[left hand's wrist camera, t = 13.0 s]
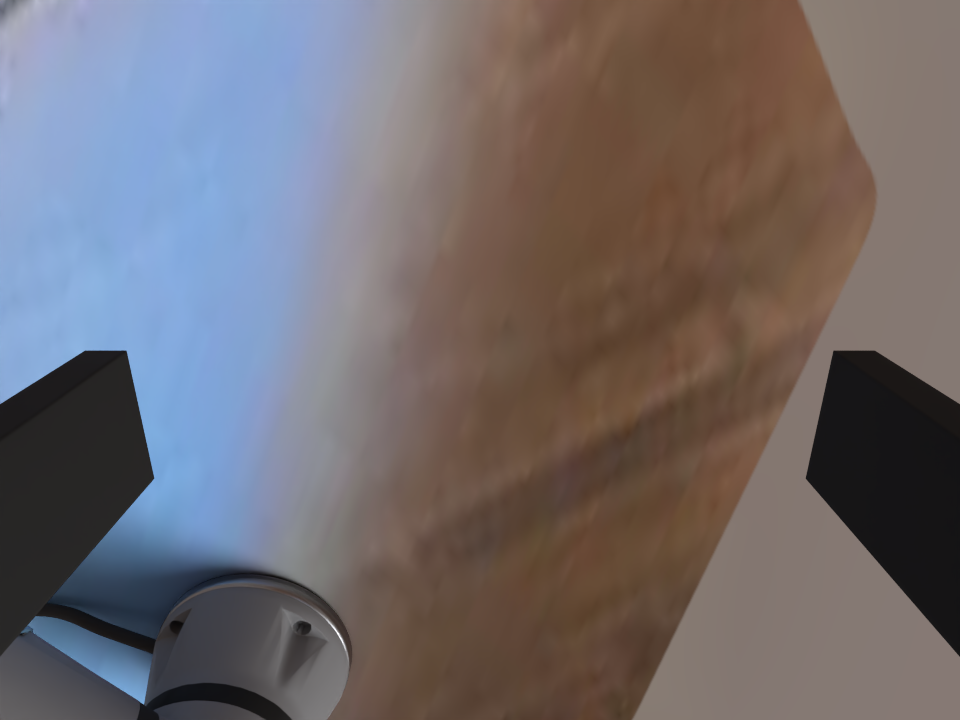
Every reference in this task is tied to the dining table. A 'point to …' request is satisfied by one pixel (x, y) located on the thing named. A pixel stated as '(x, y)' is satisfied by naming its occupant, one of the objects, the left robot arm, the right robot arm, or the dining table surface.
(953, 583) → the left robot arm
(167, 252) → the dining table surface
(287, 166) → the dining table surface
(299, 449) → the dining table surface
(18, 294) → the dining table surface
